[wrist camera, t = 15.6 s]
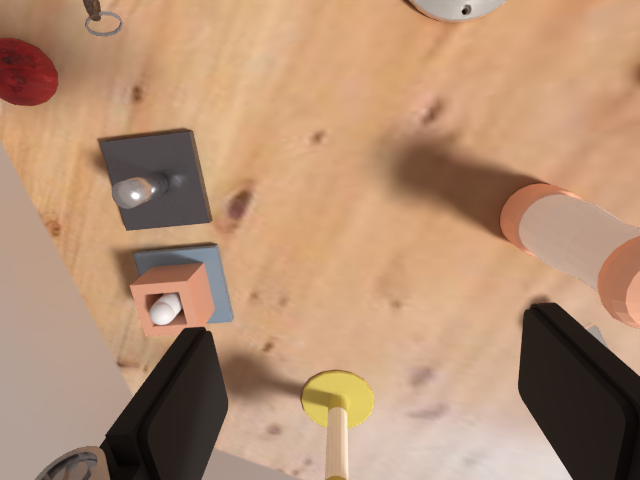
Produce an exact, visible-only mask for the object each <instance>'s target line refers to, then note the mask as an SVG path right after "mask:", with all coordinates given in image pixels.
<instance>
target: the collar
mask: <svg viewBox="0 0 640 480" xmlns="http://www.w3.org/2000/svg"><path fill="white" fill-rule="evenodd" d="M130 289H131V292H132V295H133V298H134V301H135V304H136V308H137V311H138V314H139V317H140V320H141V324H142V327H143V330H144V333H145V336H146V337H147V336H162V335H178V334H180V333H181V331H182V330H183V329H184V328H189V327H204V326H205V325H206V323H207V322H208V320H209V319H210V317H211V316H212V314H213V313H214V311H215V307H214V303H213V298H212V294H211V290H210V285H209V281H208V277H207V273H206V268H205V264H204V263H192V264H180V265H168V266H156V267H152V268H151V269H149V270H148V271H147V272H146V273H144V274H143V275H142V276H141V277H139V278H138V279H137V280H136V281H135V282H133V283H132V284H131V285H130ZM172 292H179V295H180V298H181V302H182V306H183V308H182V309H181V310H180V312H179V313H178V314H177V315H176V316H175V318H174V319H173V320H172V321H171V322H170V323H168V324H165V325H158V324H155V323H154V322H153V321H152V320H151V318H150V315H149V312H150V309H151V307H152V306H153V304H154V303H155V302H156V301H157V300H158V299H159V298H160V297H161V296H162V295H163V294H164V293H172Z"/></svg>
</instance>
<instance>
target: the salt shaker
mask: <svg viewBox="0 0 640 480" xmlns="http://www.w3.org/2000/svg"><path fill="white" fill-rule="evenodd" d="M500 226H501V229H502V232H503V234H504V235H505V237H506V238H507V239H508V240H509V241H510V242H511V243H513V244H514V245H515V246H517V247H518V248H519V249H521V250H522V251H523V252H525V253H527V254H529V255H531V256H533V257H537V258H539V259H540V260H541V261H542V262H544V263H545V264H547V265H549V266H551V267H553V268H555V269H557V270H559V271H562V272H564V273H566V274H569V275H571V276H573V277H576V278H578V279H579V280H581V281H582V282H584V283H585V284H587V285H588V286H590V287H591V288H593V289H594V290H595V291H597V292H598V293H599V295H600V299H601V302H602V304H603V306H604V307H605V309H606V310H607V311H608V312H609V313H610V315H611V316H612V317H613V318H615V319H616V320H618V321H620V322H622V323H624V324H626V325H629V326H631V327H634V328H638V329H640V229H639V228H637V227H634V226H632V225H629V224H627V223H624V222H622V221H621V220H619V219H618V218H616V217H615V216H613V215H612V214H610V213H609V212H607V211H606V210H604V209H603V208H601V207H599V206H597V205H596V204H594V203H591V202H588V201H585V200H582V199H581V198H580V197H579V196H577V195H576V194H574V193H572V192H570V191H568V190H565V189H562V188H559V187H556V186H553V185H548V184H543V183H539V184H532V185H528V186H526V187H524V188H521V189H519V190H518V191H517V192H515V193H514V194H513V195H512V196H510V198H509V199H508V200H507V202H506V203H505V205H504V206H503V209H502V212H501V215H500Z"/></svg>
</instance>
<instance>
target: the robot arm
mask: <svg viewBox="0 0 640 480" xmlns="http://www.w3.org/2000/svg"><path fill="white" fill-rule="evenodd" d="M409 1H410V2H411V3H412V4H413V5H414V6H415V7H416V9H417V10H419V11H420V12H422V13H423V14H425V15H426V16H428V17H430V18H433V19H436V20H438V21H442V22H449V23H459V22H468V21H471V20H475V19H478V18H481V17H483V16H485V15H486V14H488V13H490V12H492V11H494V10H495V9H497V8H498V7H499V6H501V5H502V4H504V3H505V2H506V1H507V0H409ZM462 10H465V11H466V14H465V15H463V14H462ZM518 389H519V393H520V396H521V398H522V400H523V402H524V403H525V405H526V406H527V408H528V409H529V411H530V413H531V414H532V416H533V417H534V419H535V420H536V422H537V424H538V425H539V427H540V428H541V430H542V432H543V433H544V435H545V436H546V438H547V439H548V441H549V443H550V444H551V446H552V447H553V449H554V450H555V452H556V454H557V455H558V457H559V458H560V460H561V462H562V463H563V465H564V466H565V468H566V469H567V471H568V473H569V474H570V476H571V477H572V479H573V480H640V376H639V375H637V374H636V373H635V372H634V371H633V370H632V369H631V368H629V367H628V366H627V365H626V364H625V363H624V362H623V361H622V360H620V359H619V358H618V357H617V356H616V355H615V354H614V353H612V352H611V351H610V350H609V349H608V348H607V347H606V346H604V345H603V344H602V343H601V342H600V341H599V340H598V339H596V338H595V337H594V336H593V335H592V334H591V333H590V332H589V331H587V330H586V329H585V328H584V327H583V326H582V325H581V324H579V323H578V322H577V321H576V320H575V319H574V318H573V317H571V316H570V315H569V314H568V313H567V312H566V311H565V310H564V309H562V308H561V307H560V306H559V305H558V304H556V303H539V304H532V305H531V307H530V309H527V310H525V312H524V319H523V331H522V343H521V355H520V367H519V380H518ZM227 411H228V397H227V393H226V389H225V385H224V381H223V377H222V373H221V369H220V365H219V361H218V357H217V353H216V349H215V344H214V340H213V336H212V333H211V332H210V331H206V329H205V327H189V328H184V329H183V330H182V331H181V333H180V334H179V336H178V337H177V338H176V340H175V341H174V342H173V344H172V345H171V346H170V348H169V349H168V350H167V352H166V353H165V355H164V356H163V357H162V359H161V360H160V361H159V363H158V364H157V365H156V367H155V368H154V370H153V371H152V372H151V374H150V375H149V376H148V378H147V379H146V380H145V382H144V383H143V385H142V386H141V387H140V389H139V390H138V391H137V393H136V394H135V395H134V397H133V398H132V400H131V401H130V402H129V404H128V405H127V406H126V408H125V409H124V410H123V412H122V413H121V414H120V416H119V417H118V419H117V420H116V421H115V423H114V424H113V426H112V427H111V428H110V430H109V431H108V432H107V434H106V435H105V436H106V439H105V440H104V441H103V443H102V444H101V445H100V447H97V446H86V447H82V448H77V449H75V450H72V451H70V452H68V453H66V454H64V455H62V456H61V457H59V458H57V459H56V460H54V461H53V462H52V463H51V464H49V465H48V466H47V467H46V468H44V470H43V471H42V472H41V473H40V474H39V475H38V476H37V477H36V479H35V480H201V479H202V476H203V474H204V471H205V468H206V466H207V463H208V461H209V458H210V456H211V452H212V450H213V448H214V445H215V442H216V440H217V437H218V435H219V432H220V429H221V427H222V424H223V422H224V419H225V416H226V414H227Z"/></svg>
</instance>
